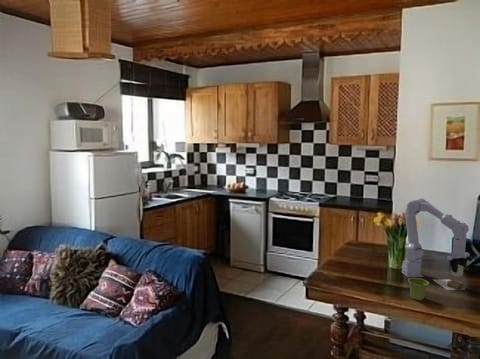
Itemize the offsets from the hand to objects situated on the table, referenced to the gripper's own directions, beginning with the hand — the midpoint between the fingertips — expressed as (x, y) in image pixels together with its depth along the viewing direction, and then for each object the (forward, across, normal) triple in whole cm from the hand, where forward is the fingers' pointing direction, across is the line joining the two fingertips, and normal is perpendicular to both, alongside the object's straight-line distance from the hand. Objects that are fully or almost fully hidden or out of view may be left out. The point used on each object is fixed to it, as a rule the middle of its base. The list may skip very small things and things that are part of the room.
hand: (457, 271), depth 209 cm
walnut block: (+8, 0, 0) cm, 8 cm away
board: (+9, -1, +4) cm, 10 cm away
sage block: (+2, 0, 0) cm, 2 cm away
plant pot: (+9, -29, -1) cm, 30 cm away
